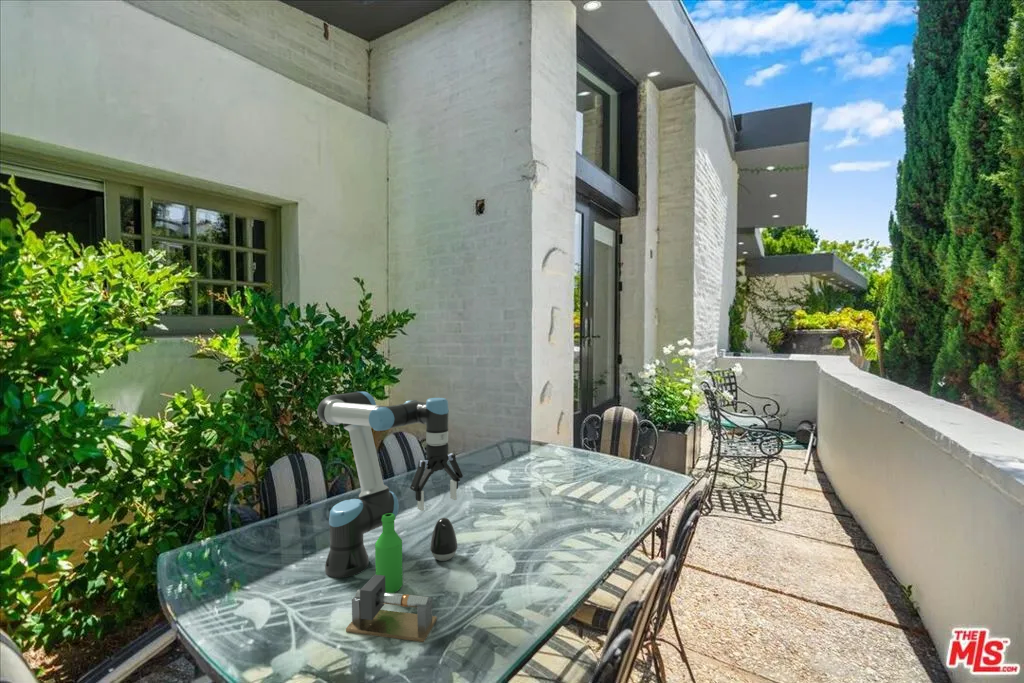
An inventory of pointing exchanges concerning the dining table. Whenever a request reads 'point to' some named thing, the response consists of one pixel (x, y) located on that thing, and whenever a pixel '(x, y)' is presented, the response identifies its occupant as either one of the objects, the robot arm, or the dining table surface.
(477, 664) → the dining table surface
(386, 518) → the bottle
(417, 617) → the pipe stand
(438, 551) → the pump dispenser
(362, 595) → the grey sliding block
